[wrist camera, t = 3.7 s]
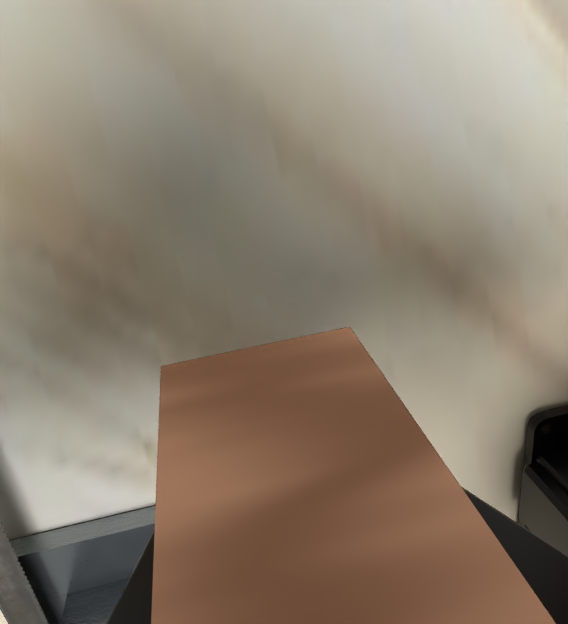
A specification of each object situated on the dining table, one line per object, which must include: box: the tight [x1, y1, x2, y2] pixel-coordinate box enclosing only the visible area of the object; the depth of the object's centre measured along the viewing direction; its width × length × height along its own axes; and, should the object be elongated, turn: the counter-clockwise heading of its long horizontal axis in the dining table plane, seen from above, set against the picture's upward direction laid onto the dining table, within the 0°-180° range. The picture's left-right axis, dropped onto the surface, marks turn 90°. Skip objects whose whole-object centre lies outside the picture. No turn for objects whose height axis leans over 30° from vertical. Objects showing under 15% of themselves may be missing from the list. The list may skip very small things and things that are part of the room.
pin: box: [151, 327, 556, 624], centre depth 8 cm, size 4×4×8 cm
